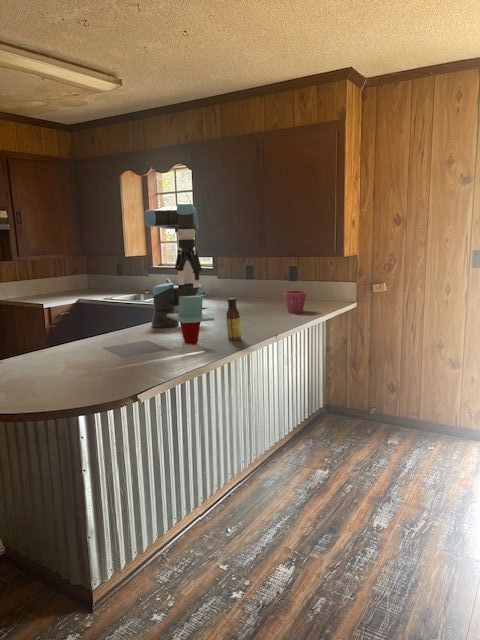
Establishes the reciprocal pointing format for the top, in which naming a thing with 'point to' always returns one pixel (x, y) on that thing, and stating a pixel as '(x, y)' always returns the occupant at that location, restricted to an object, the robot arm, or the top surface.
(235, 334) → the sauce bottle
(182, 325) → the plastic cup
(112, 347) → the mat
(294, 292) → the plant pot
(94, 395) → the top surface
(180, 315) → the lid
